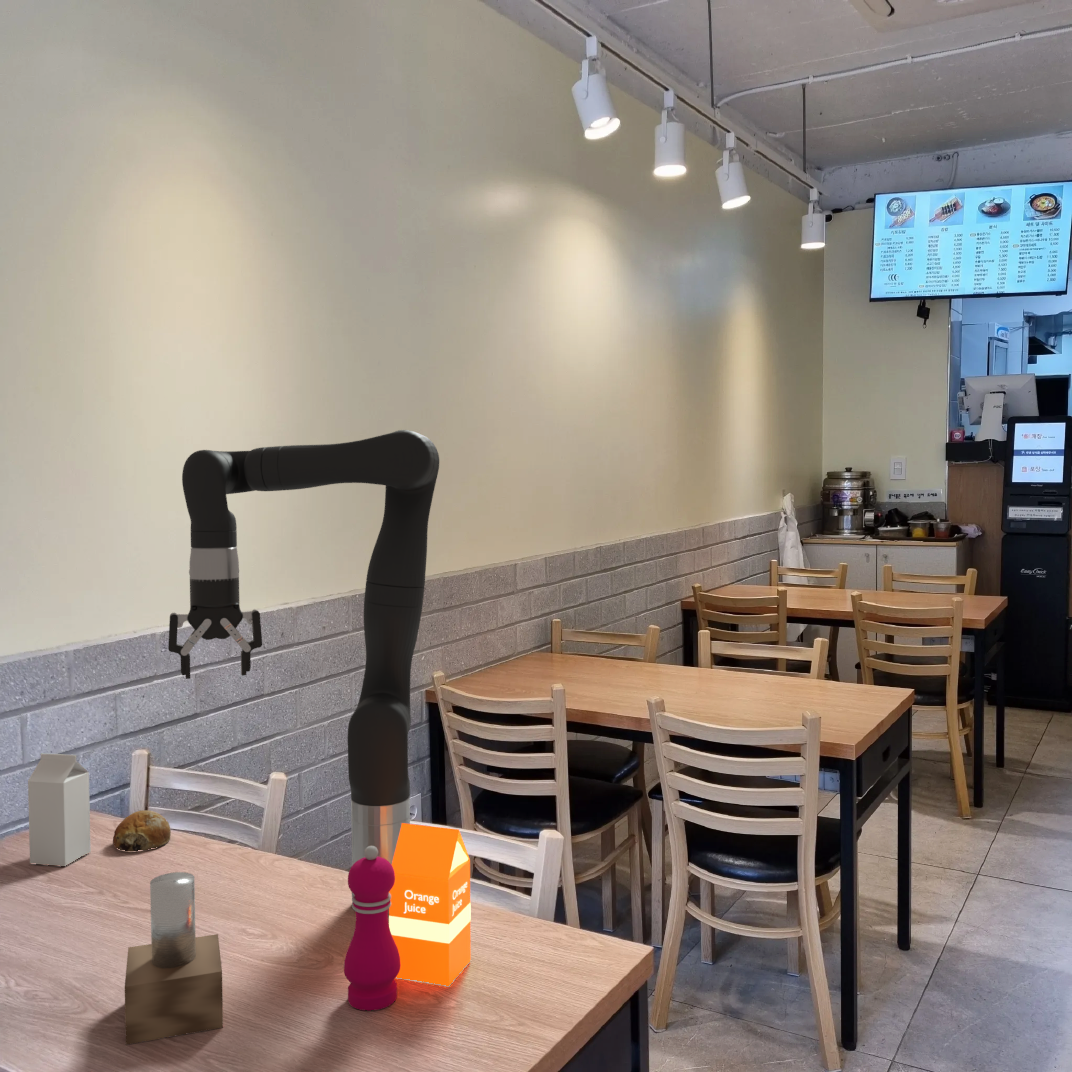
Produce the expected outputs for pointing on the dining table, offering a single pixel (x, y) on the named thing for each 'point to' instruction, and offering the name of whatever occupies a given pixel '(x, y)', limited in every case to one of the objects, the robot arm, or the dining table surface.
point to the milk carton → (58, 810)
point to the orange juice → (431, 903)
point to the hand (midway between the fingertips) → (216, 676)
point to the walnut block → (173, 993)
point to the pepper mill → (371, 935)
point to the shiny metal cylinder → (173, 919)
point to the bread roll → (142, 831)
